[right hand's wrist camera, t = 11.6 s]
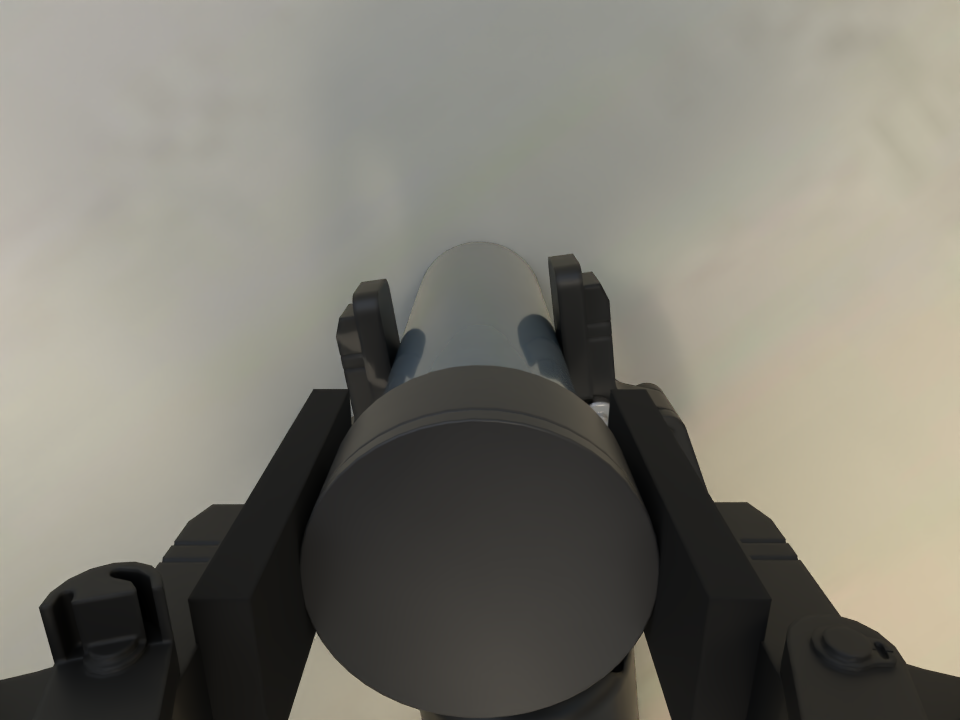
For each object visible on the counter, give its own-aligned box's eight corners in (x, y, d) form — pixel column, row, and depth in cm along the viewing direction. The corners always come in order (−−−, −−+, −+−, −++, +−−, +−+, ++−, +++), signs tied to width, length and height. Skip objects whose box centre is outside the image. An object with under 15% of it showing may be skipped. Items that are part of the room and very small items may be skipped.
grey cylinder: (413, 243, 25) (315, 438, 10) (540, 238, 25) (632, 427, 10) (422, 362, 27) (348, 682, 12) (541, 358, 26) (621, 674, 12)
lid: (311, 369, 12) (273, 426, 9) (637, 357, 11) (671, 412, 9) (345, 629, 13) (321, 724, 11) (625, 620, 13) (651, 713, 11)
